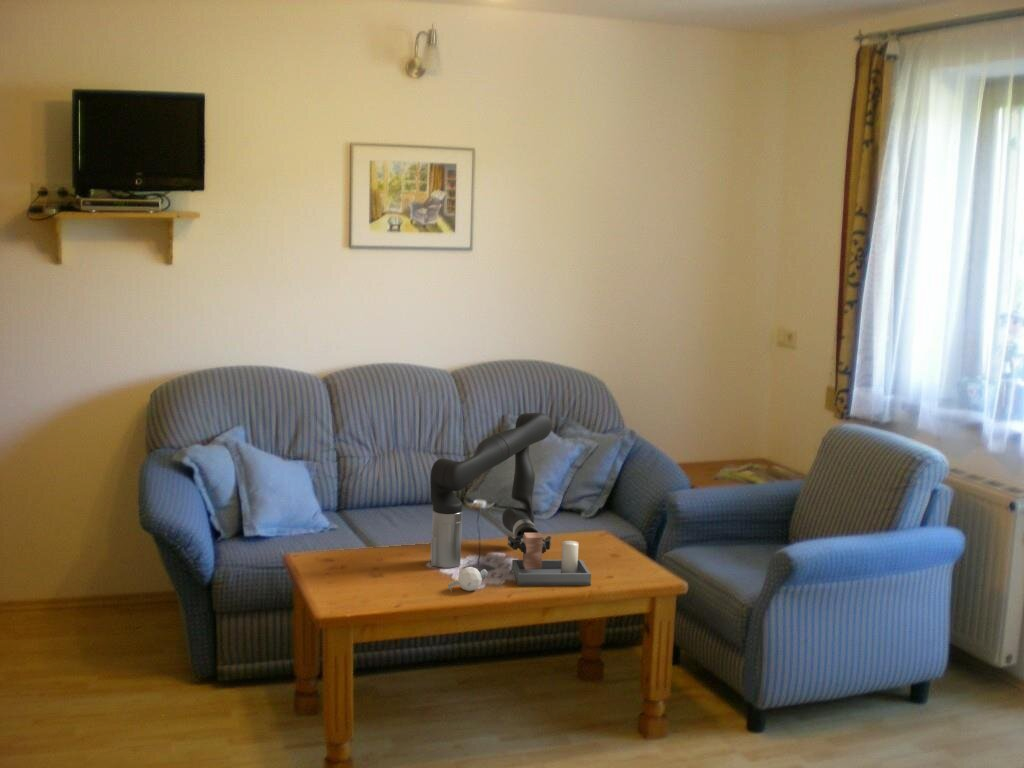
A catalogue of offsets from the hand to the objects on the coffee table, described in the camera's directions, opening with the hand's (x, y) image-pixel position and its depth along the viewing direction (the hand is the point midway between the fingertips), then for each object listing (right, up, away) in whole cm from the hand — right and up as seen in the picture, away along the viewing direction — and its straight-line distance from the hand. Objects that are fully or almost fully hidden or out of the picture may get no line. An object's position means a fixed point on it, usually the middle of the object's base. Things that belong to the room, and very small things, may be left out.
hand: (534, 550), depth 332 cm
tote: (+5, -9, +5) cm, 11 cm away
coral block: (-1, -6, +3) cm, 7 cm away
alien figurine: (-20, -10, -9) cm, 24 cm away
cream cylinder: (+11, -8, +5) cm, 15 cm away
